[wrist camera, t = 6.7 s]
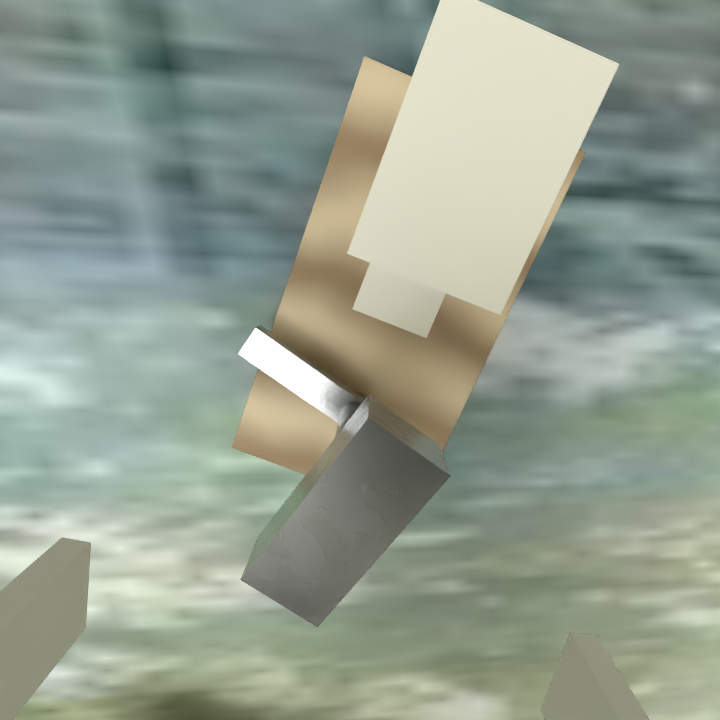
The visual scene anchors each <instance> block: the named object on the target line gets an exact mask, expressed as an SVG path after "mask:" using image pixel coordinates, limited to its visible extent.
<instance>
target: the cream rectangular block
mask: <svg viewBox="0 0 720 720" xmlns="http://www.w3.org/2000/svg"><path fill="white" fill-rule="evenodd" d="M618 66H619V64H618V63H616V62H614V61H611V60H609V59H607V58H605V57H602V56H600V55H598V54H596V53H594V52H591V51H589V50H587V49H585V48H582V47H580V46H578V45H576V44H573V43H571V42H569V41H567V40H565V39H562V38H560V37H558V36H556V35H553V34H551V33H549V32H547V31H545V30H542V29H540V28H538V27H536V26H533V25H531V24H529V23H527V22H525V21H522V20H520V19H518V18H516V17H513V16H511V15H509V14H507V13H505V12H502V11H500V10H498V9H496V8H493V7H491V6H489V5H487V4H485V3H482V2H480V1H478V0H440V3H439V5H438V8H437V11H436V13H435V16H434V19H433V22H432V24H431V27H430V30H429V32H428V35H427V38H426V41H425V43H424V46H423V49H422V51H421V54H420V57H419V60H418V62H417V65H416V68H415V70H414V73H413V76H412V79H411V81H410V84H409V87H408V89H407V92H406V95H405V98H404V100H403V103H402V106H401V108H400V111H399V114H398V117H397V119H396V122H395V125H394V127H393V130H392V133H391V136H390V138H389V141H388V144H387V146H386V149H385V152H384V155H383V157H382V160H381V163H380V165H379V168H378V171H377V174H376V176H375V179H374V182H373V184H372V187H371V190H370V193H369V195H368V198H367V201H366V203H365V206H364V209H363V212H362V214H361V217H360V220H359V222H358V225H357V228H356V230H355V233H354V236H353V239H352V241H351V244H350V247H349V249H348V252H347V254H349V255H352V256H354V257H357V258H359V259H362V260H364V261H367V262H369V263H370V264H369V267H368V269H367V272H366V275H365V277H364V280H363V282H362V285H361V288H360V290H359V293H358V295H357V298H356V301H355V303H354V306H353V308H352V309H353V310H356V311H358V312H361V313H363V314H366V315H369V316H371V317H374V318H376V319H379V320H381V321H384V322H386V323H389V324H391V325H394V326H397V327H399V328H402V329H404V330H407V331H409V332H412V333H414V334H417V335H419V336H422V337H425V338H427V336H428V333H429V331H430V329H431V327H432V324H433V322H434V320H435V317H436V315H437V313H438V310H439V308H440V306H441V304H442V301H443V299H444V297H445V294H449V295H451V296H454V297H456V298H459V299H461V300H464V301H466V302H469V303H471V304H474V305H476V306H479V307H481V308H484V309H486V310H489V311H491V312H494V313H496V314H499V315H501V313H502V311H503V308H504V306H505V304H506V302H507V300H508V298H509V296H510V294H511V292H512V289H513V287H514V285H515V283H516V281H517V279H518V277H519V275H520V273H521V270H522V268H523V266H524V264H525V262H526V260H527V258H528V256H529V254H530V251H531V249H532V247H533V245H534V243H535V241H536V239H537V237H538V235H539V232H540V230H541V228H542V226H543V224H544V222H545V220H546V218H547V216H548V214H549V211H550V209H551V207H552V205H553V203H554V201H555V199H556V197H557V195H558V192H559V190H560V188H561V186H562V184H563V182H564V180H565V178H566V176H567V173H568V171H569V169H570V167H571V165H572V163H573V161H574V159H575V157H576V154H577V152H578V150H579V148H580V146H581V144H582V142H583V140H584V138H585V136H586V133H587V131H588V129H589V127H590V125H591V123H592V121H593V119H594V117H595V114H596V112H597V110H598V108H599V106H600V104H601V102H602V100H603V98H604V95H605V93H606V91H607V89H608V87H609V85H610V83H611V81H612V79H613V76H614V74H615V72H616V70H617V68H618Z"/></svg>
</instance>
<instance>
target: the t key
mask: <svg viewBox="0 0 720 720" xmlns="http://www.w3.org/2000/svg"><path fill="white" fill-rule="evenodd" d="M238 354H239V355H240V356H242V357H243V358H245V359H246V360H247V361H249V362H250V363H252V364H253V365H255V366H256V367H258V368H259V369H261V370H262V371H263V372H265V373H266V374H268V375H269V376H271V377H272V378H274V379H275V380H276V381H278V382H279V383H281V384H282V385H284V386H285V387H287V388H288V389H289V390H291V391H292V392H294V393H295V394H297V395H298V396H300V397H301V398H303V399H304V400H305V401H307V402H308V403H310V404H311V405H313V406H314V407H316V408H317V409H318V410H320V411H321V412H323V413H324V414H326V415H327V416H329V417H330V418H331V419H333V420H334V421H336V422H337V423H338V425H337V430H336V434H335V438H334V440H333V441H332V442H331V444H330V445H329V446H328V447H327V449H326V450H325V451H324V453H323V454H322V455H321V456H320V458H319V459H318V460H317V462H316V463H315V464H314V465H313V467H312V468H311V469H310V471H309V472H308V473H307V474H306V476H305V477H304V478H303V480H302V481H301V482H300V483H299V485H298V486H297V487H296V489H295V490H294V491H293V492H292V494H291V495H290V496H289V498H288V499H287V500H286V501H285V503H284V504H283V505H282V507H281V508H280V509H279V510H278V512H277V513H276V514H275V516H274V517H273V518H272V519H271V521H270V522H269V523H268V525H267V526H266V527H265V528H264V530H263V531H262V532H261V534H260V535H259V536H258V539H257V541H256V544H255V546H254V549H253V551H252V553H251V556H250V558H249V561H248V563H247V565H246V568H245V570H244V573H243V575H242V578H241V580H242V581H243V582H245V583H247V584H248V585H250V586H251V587H253V588H255V589H256V590H258V591H260V592H261V593H263V594H264V595H266V596H268V597H269V598H271V599H273V600H274V601H276V602H278V603H279V604H281V605H282V606H284V607H286V608H287V609H289V610H291V611H292V612H294V613H295V614H297V615H299V616H300V617H302V618H304V619H305V620H307V621H308V622H310V623H312V624H313V625H315V626H317V627H318V626H319V625H320V624H321V623H322V622H323V620H324V619H325V618H326V617H327V616H328V615H329V614H330V612H331V611H332V610H333V609H334V608H335V607H336V606H337V604H338V603H339V602H340V601H341V600H342V599H343V598H344V596H345V595H346V594H347V593H348V592H349V591H350V590H351V589H352V587H353V586H354V585H355V584H356V583H357V582H358V581H359V579H360V578H361V577H362V576H363V575H364V574H365V573H366V571H367V570H368V569H369V568H370V567H371V566H372V565H373V563H374V562H375V561H376V560H377V559H378V558H379V557H380V555H381V554H382V553H383V552H384V551H385V550H386V549H387V548H388V546H389V545H390V544H391V543H392V542H393V541H394V540H395V538H396V537H397V536H398V535H399V534H400V533H401V532H402V530H403V529H404V528H405V527H406V526H407V525H408V524H409V522H410V521H411V520H412V519H413V518H414V517H415V516H416V515H417V513H418V512H419V511H420V510H421V509H422V508H423V507H424V505H425V504H426V503H427V502H428V501H429V500H430V499H431V497H432V496H433V495H434V494H435V493H436V492H437V491H438V489H439V488H440V487H441V486H442V485H443V484H444V483H445V482H446V480H447V479H448V478H449V477H450V473H449V470H448V467H447V465H446V462H445V459H444V457H443V454H442V451H441V449H440V446H439V444H438V443H437V442H435V441H434V440H432V439H431V438H430V437H428V436H427V435H425V434H424V433H422V432H421V431H420V430H418V429H417V428H415V427H414V426H413V425H411V424H410V423H408V422H407V421H406V420H404V419H403V418H401V417H400V416H398V415H397V414H396V413H394V412H393V411H391V410H390V409H389V408H387V407H386V406H384V405H383V404H382V403H380V402H379V401H377V400H376V399H374V398H373V397H372V396H370V395H368V396H367V397H366V396H365V395H364V394H362V393H360V392H354V391H353V390H351V389H350V388H349V387H347V386H346V385H344V384H343V383H341V382H340V381H339V380H337V379H336V378H334V377H333V376H331V375H330V374H329V373H327V372H326V371H324V370H323V369H322V368H320V367H319V366H317V365H316V364H314V363H313V362H312V361H310V360H309V359H307V358H306V357H305V356H303V355H302V354H300V353H299V352H297V351H296V350H295V349H293V348H292V347H290V346H289V345H288V344H286V343H285V342H283V341H282V340H280V339H279V338H278V337H276V336H275V335H273V334H272V333H271V332H269V331H268V330H266V329H265V328H263V327H262V326H261V325H260V326H258V327H256V328H255V329H254V331H253V332H252V334H251V335H250V337H249V338H248V340H247V341H246V343H245V344H244V346H243V347H242V349H241V350H240V352H239V353H238Z"/></svg>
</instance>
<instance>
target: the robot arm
mask: <svg viewBox="0 0 720 720" xmlns="http://www.w3.org/2000/svg"><path fill="white" fill-rule="evenodd" d="M90 550H91V543H89V542H84V541H78V540H73V539H68V538H61V539H60V540H59V541H57V542H56V543H55V544H54V545H53V546H52V547H51V548H49V549H48V550H47V551H46V552H45V553H44V554H43V555H41V556H40V557H39V558H38V559H37V560H36V561H35V562H33V563H32V564H31V565H30V566H29V567H28V568H26V569H25V570H24V571H23V572H22V573H21V574H20V575H18V576H17V577H16V578H15V579H14V580H13V581H12V582H10V583H9V584H8V585H7V586H6V587H5V588H4V589H2V590H1V591H0V720H13V719H14V718H15V716H16V715H17V714H18V712H19V711H20V710H21V709H22V707H23V706H24V705H25V704H26V702H27V701H28V700H29V699H30V697H31V696H32V695H33V694H34V692H35V691H36V690H37V688H38V687H39V686H40V685H41V683H42V682H43V681H44V680H45V678H46V677H47V676H48V675H49V673H50V672H51V671H52V670H53V668H54V667H55V666H56V664H57V663H58V662H59V661H60V659H61V658H62V657H63V656H64V654H65V653H66V652H67V651H68V649H69V648H70V647H71V646H72V644H73V643H74V642H75V640H76V639H77V638H78V637H79V635H80V634H81V633H82V632H83V630H84V629H85V628H86V615H87V598H88V582H89V566H90ZM541 711H542V714H543V716H544V719H545V720H649V718H648V716H647V715H646V713H645V712H644V710H643V708H642V707H641V705H640V704H639V702H638V700H637V699H636V697H635V696H634V694H633V692H632V691H631V689H630V688H629V686H628V684H627V683H626V681H625V680H624V678H623V677H622V675H621V673H620V672H619V670H618V669H617V667H616V665H615V664H614V662H613V661H612V659H611V657H610V656H609V654H608V653H607V651H606V649H605V648H604V646H603V645H602V643H601V641H600V640H599V638H598V637H597V636H591V635H586V634H580V633H575V632H570V634H569V637H568V639H567V642H566V644H565V647H564V650H563V652H562V655H561V658H560V660H559V663H558V666H557V668H556V671H555V674H554V676H553V679H552V682H551V684H550V687H549V690H548V692H547V695H546V697H545V700H544V703H543V705H542V708H541Z"/></svg>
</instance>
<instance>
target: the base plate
mask: <svg viewBox="0 0 720 720" xmlns="http://www.w3.org/2000/svg"><path fill="white" fill-rule="evenodd" d="M411 79H412V77H411V76H409V75H407V74H404V73H402V72H400V71H397V70H395V69H393V68H390V67H388V66H386V65H383V64H381V63H379V62H376V61H374V60H372V59H370V58H367V57H365V56H364V59H363V62H362V65H361V68H360V71H359V74H358V77H357V80H356V83H355V85H354V88H353V91H352V94H351V97H350V100H349V103H348V106H347V109H346V112H345V115H344V118H343V121H342V124H341V127H340V130H339V133H338V136H337V138H336V141H335V144H334V147H333V150H332V153H331V156H330V159H329V162H328V165H327V168H326V171H325V174H324V177H323V180H322V183H321V186H320V188H319V191H318V194H317V197H316V200H315V203H314V206H313V209H312V212H311V215H310V218H309V221H308V224H307V227H306V230H305V233H304V236H303V239H302V241H301V244H300V247H299V250H298V253H297V256H296V259H295V262H294V265H293V268H292V271H291V274H290V277H289V280H288V283H287V286H286V289H285V291H284V294H283V297H282V300H281V303H280V306H279V309H278V312H277V315H276V318H275V321H274V324H273V327H272V330H271V333H272V334H273V335H275V336H276V337H278V338H279V339H280V340H282V341H283V342H285V343H286V344H288V345H289V346H290V347H292V348H293V349H295V350H296V351H297V352H299V353H300V354H302V355H303V356H305V357H306V358H307V359H309V360H310V361H312V362H313V363H314V364H316V365H317V366H319V367H320V368H322V369H323V370H324V371H326V372H327V373H329V374H330V375H331V376H333V377H334V378H336V379H337V380H339V381H340V382H341V383H343V384H344V385H346V386H347V387H349V388H350V389H351V390H353V391H354V392H360V393H362V394H364V395H365V396H366V397H367V396H368V395H370V396H372V397H373V398H374V399H376V400H377V401H379V402H380V403H382V404H383V405H384V406H386V407H387V408H389V409H390V410H391V411H393V412H394V413H396V414H397V415H398V416H400V417H401V418H403V419H404V420H406V421H407V422H408V423H410V424H411V425H413V426H414V427H415V428H417V429H418V430H420V431H421V432H422V433H424V434H425V435H427V436H428V437H430V438H431V439H432V440H434V441H435V442H437V443H438V444H439V446H440V449H441V451H443V449H444V447H445V445H446V443H447V441H448V439H449V437H450V435H451V433H452V430H453V428H454V426H455V424H456V422H457V420H458V418H459V416H460V414H461V412H462V410H463V407H464V405H465V403H466V401H467V399H468V397H469V395H470V393H471V391H472V389H473V387H474V385H475V382H476V380H477V378H478V376H479V374H480V372H481V370H482V368H483V366H484V364H485V362H486V359H487V357H488V355H489V353H490V351H491V349H492V347H493V345H494V343H495V341H496V339H497V336H498V334H499V332H500V330H501V328H502V326H503V324H504V322H505V320H506V318H507V316H508V314H509V311H510V309H511V307H512V305H513V303H514V301H515V299H516V297H517V295H518V293H519V291H520V288H521V286H522V284H523V282H524V280H525V278H526V276H527V274H528V272H529V270H530V268H531V265H532V263H533V261H534V259H535V257H536V255H537V253H538V251H539V249H540V247H541V245H542V242H543V240H544V238H545V236H546V234H547V232H548V230H549V228H550V226H551V224H552V222H553V220H554V217H555V215H556V213H557V211H558V209H559V207H560V205H561V203H562V201H563V199H564V197H565V194H566V192H567V190H568V188H569V186H570V184H571V182H572V180H573V178H574V176H575V174H576V171H577V169H578V167H579V165H580V163H581V161H582V159H583V157H584V155H585V153H586V152H584V151H582V150H580V149H579V150H578V152H577V154H576V157H575V159H574V161H573V163H572V165H571V167H570V169H569V171H568V173H567V176H566V178H565V180H564V182H563V184H562V186H561V188H560V190H559V192H558V195H557V197H556V199H555V201H554V203H553V205H552V207H551V209H550V211H549V214H548V216H547V218H546V220H545V222H544V224H543V226H542V228H541V230H540V232H539V235H538V237H537V239H536V241H535V243H534V245H533V247H532V249H531V251H530V254H529V256H528V258H527V260H526V262H525V264H524V266H523V268H522V270H521V273H520V275H519V277H518V279H517V281H516V283H515V285H514V287H513V289H512V292H511V294H510V296H509V298H508V300H507V302H506V304H505V306H504V308H503V311H502V313H501V315H499V314H496V313H494V312H491V311H489V310H486V309H484V308H481V307H479V306H476V305H474V304H471V303H469V302H466V301H464V300H461V299H459V298H456V297H454V296H451V295H449V294H445V297H444V299H443V301H442V304H441V306H440V308H439V310H438V313H437V315H436V317H435V320H434V322H433V324H432V327H431V329H430V331H429V333H428V336H427V338H425V337H422V336H419V335H417V334H414V333H412V332H409V331H407V330H404V329H402V328H399V327H397V326H394V325H391V324H389V323H386V322H384V321H381V320H379V319H376V318H374V317H371V316H369V315H366V314H363V313H361V312H358V311H356V310H353V309H352V308H353V306H354V303H355V301H356V298H357V295H358V293H359V290H360V288H361V285H362V282H363V280H364V277H365V275H366V272H367V269H368V267H369V264H370V263H369V262H367V261H364V260H362V259H359V258H357V257H354V256H352V255H349V254H347V252H348V249H349V247H350V244H351V241H352V239H353V236H354V233H355V230H356V228H357V225H358V222H359V220H360V217H361V214H362V212H363V209H364V206H365V203H366V201H367V198H368V195H369V193H370V190H371V187H372V184H373V182H374V179H375V176H376V174H377V171H378V168H379V165H380V163H381V160H382V157H383V155H384V152H385V149H386V146H387V144H388V141H389V138H390V136H391V133H392V130H393V127H394V125H395V122H396V119H397V117H398V114H399V111H400V108H401V106H402V103H403V100H404V98H405V95H406V92H407V89H408V87H409V84H410V81H411ZM337 425H338V423H337V422H336V421H334V420H333V419H331V418H330V417H329V416H327V415H326V414H324V413H323V412H321V411H320V410H318V409H317V408H316V407H314V406H313V405H311V404H310V403H308V402H307V401H305V400H304V399H303V398H301V397H300V396H298V395H297V394H295V393H294V392H292V391H291V390H289V389H288V388H287V387H285V386H284V385H282V384H281V383H279V382H278V381H276V380H275V379H274V378H272V377H271V376H269V375H268V374H266V373H265V372H263V371H262V370H261V369H259V368H258V371H257V374H256V377H255V380H254V383H253V386H252V389H251V392H250V394H249V397H248V400H247V403H246V406H245V409H244V412H243V415H242V418H241V421H240V424H239V427H238V430H237V433H236V436H235V439H234V442H233V445H232V447H231V448H234V449H237V450H240V451H242V452H245V453H248V454H251V455H253V456H256V457H259V458H262V459H264V460H267V461H270V462H273V463H275V464H278V465H281V466H284V467H286V468H289V469H292V470H295V471H297V472H300V473H303V474H307V473H308V472H309V471H310V469H311V468H312V467H313V465H314V464H315V463H316V462H317V460H318V459H319V458H320V456H321V455H322V454H323V453H324V451H325V450H326V449H327V447H328V446H329V445H330V444H331V442H332V441H333V440H334V438H335V434H336V430H337Z"/></svg>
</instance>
